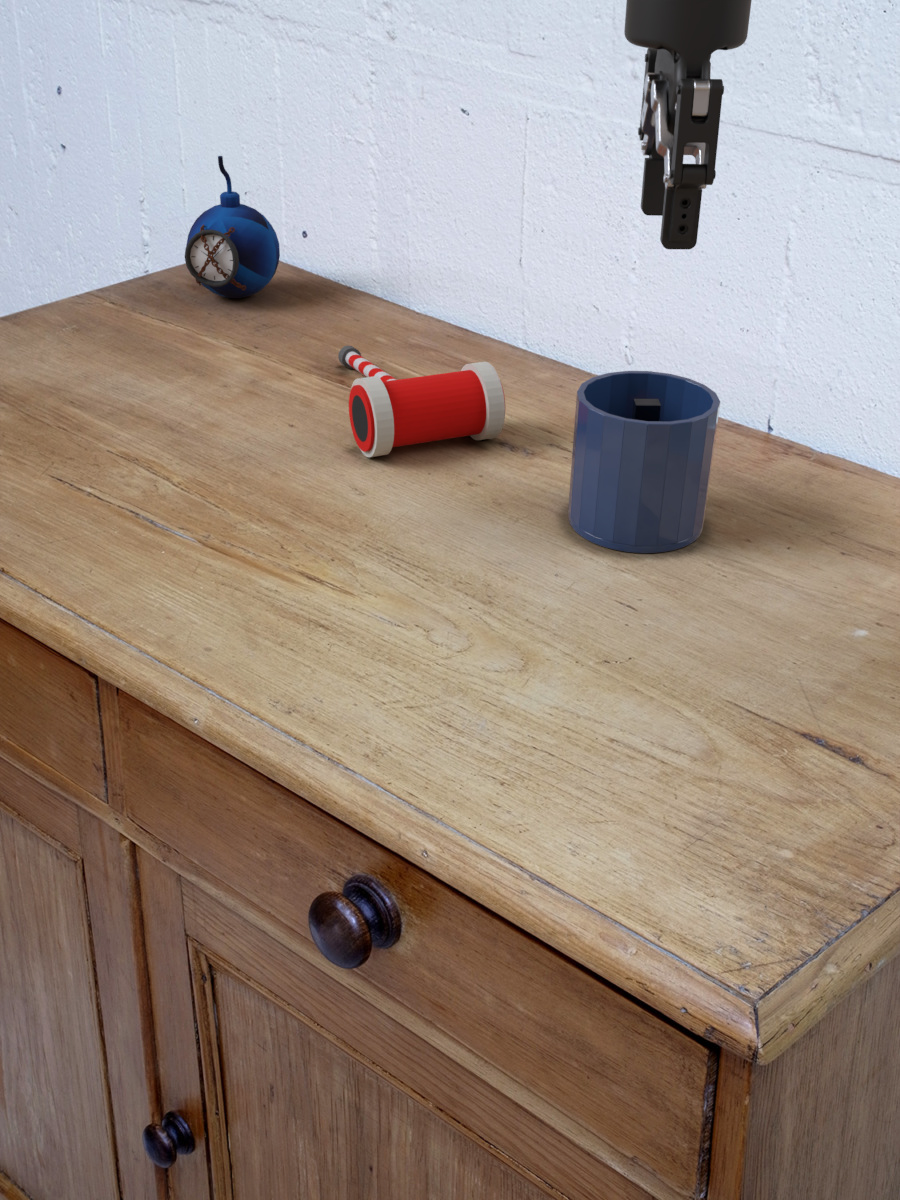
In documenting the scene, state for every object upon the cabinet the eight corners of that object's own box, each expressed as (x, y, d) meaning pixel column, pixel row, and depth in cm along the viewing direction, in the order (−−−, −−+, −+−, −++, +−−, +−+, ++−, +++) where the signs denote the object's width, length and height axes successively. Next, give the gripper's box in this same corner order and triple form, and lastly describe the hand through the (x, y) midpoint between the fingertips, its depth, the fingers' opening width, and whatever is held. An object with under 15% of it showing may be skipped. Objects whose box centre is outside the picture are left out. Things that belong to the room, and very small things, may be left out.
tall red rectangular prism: (653, 509, 99) (666, 397, 94) (657, 519, 97) (670, 406, 93) (614, 509, 99) (624, 397, 94) (616, 519, 97) (627, 405, 93)
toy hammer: (287, 373, 123) (284, 307, 120) (404, 358, 127) (404, 293, 124) (374, 470, 105) (373, 395, 102) (506, 449, 109) (510, 376, 106)
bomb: (170, 307, 138) (157, 161, 131) (213, 278, 147) (203, 139, 140) (257, 317, 136) (248, 169, 129) (294, 287, 145) (289, 146, 138)
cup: (689, 492, 103) (704, 371, 98) (714, 554, 94) (732, 424, 89) (562, 491, 102) (570, 369, 97) (575, 553, 94) (586, 423, 89)
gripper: (782, -29, 73) (745, 261, 81) (730, -50, 85) (702, 204, 93) (648, -30, 73) (624, 260, 81) (615, -51, 85) (597, 203, 93)
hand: (666, 230), depth 87 cm, fingers open, 8 cm apart
